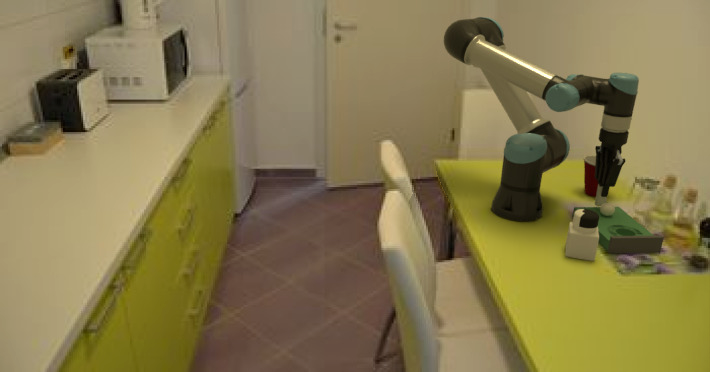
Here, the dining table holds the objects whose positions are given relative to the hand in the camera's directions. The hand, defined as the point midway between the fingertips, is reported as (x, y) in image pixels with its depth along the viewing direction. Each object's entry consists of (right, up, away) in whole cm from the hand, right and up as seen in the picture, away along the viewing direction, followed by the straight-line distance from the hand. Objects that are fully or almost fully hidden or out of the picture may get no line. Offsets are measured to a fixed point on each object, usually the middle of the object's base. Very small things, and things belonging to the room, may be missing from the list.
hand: (600, 205), depth 171 cm
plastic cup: (+6, +3, +19) cm, 21 cm away
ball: (0, -1, -4) cm, 5 cm away
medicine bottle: (-14, -12, -19) cm, 26 cm away
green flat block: (+1, -8, -7) cm, 10 cm away
